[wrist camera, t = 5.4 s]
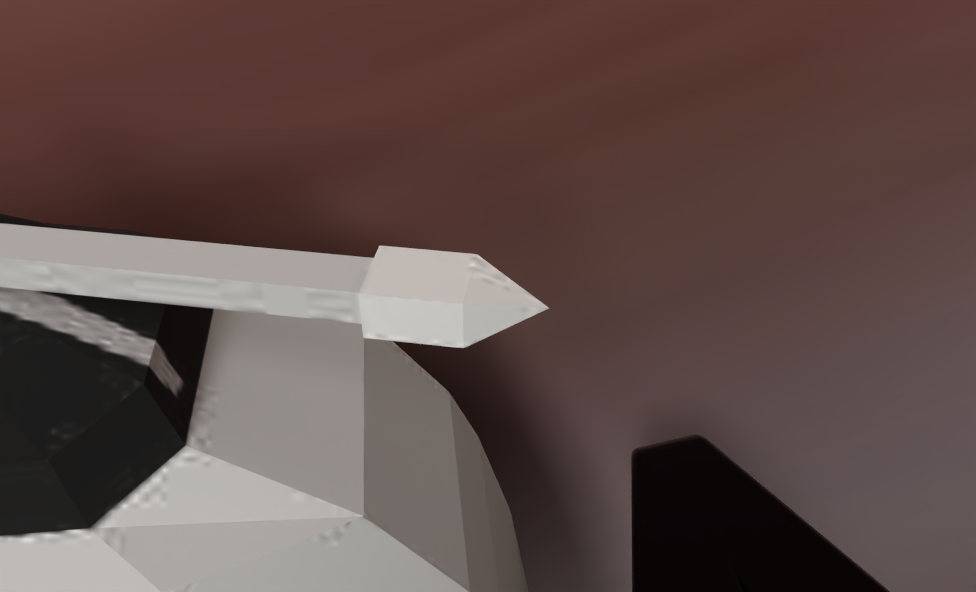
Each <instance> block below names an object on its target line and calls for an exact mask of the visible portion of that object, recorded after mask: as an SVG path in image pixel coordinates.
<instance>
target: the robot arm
mask: <svg viewBox="0 0 976 592" xmlns="http://www.w3.org/2000/svg"><path fill="white" fill-rule="evenodd" d="M631 476H632V592H890V591H889V590H887V589H886V588H885V587H884V586H882V585H881V584H880V583H879V582H878V581H876V580H875V579H874V578H873V577H872V576H870V575H869V574H868V573H867V572H866V571H864V570H863V569H862V568H861V567H860V566H858V565H857V564H856V563H855V562H854V561H852V560H851V559H850V558H849V557H848V556H846V555H845V554H844V553H843V552H842V551H840V550H839V549H838V548H837V547H836V546H834V545H833V544H832V543H831V542H830V541H828V540H827V539H826V538H825V537H824V536H822V535H821V534H820V533H819V532H818V531H816V530H815V529H814V528H813V527H811V526H810V525H809V524H808V523H807V522H805V521H804V520H803V519H802V518H801V517H799V516H798V515H797V514H796V513H795V512H793V511H792V510H791V509H790V508H789V507H787V506H786V505H785V504H784V503H783V502H781V501H780V500H779V499H778V498H777V497H775V496H774V495H773V494H772V493H771V492H769V491H768V490H767V489H766V488H765V487H763V486H762V485H761V484H760V483H759V482H757V481H756V480H755V479H754V478H753V477H751V476H750V475H749V474H748V473H747V472H745V471H744V470H743V469H742V468H740V467H739V466H738V465H737V464H736V463H734V462H733V461H732V460H731V459H730V458H728V457H727V456H726V455H725V454H724V453H722V452H721V451H720V450H719V449H718V448H716V447H715V446H714V445H713V444H712V443H710V442H709V441H708V440H707V439H705V438H704V437H702V436H699V435H691V436H686V437H682V438H678V439H674V440H669V441H665V442H661V443H657V444H653V445H648V446H644V447H640V448H636V449H635V450H634V451H633V452H632V456H631Z"/></svg>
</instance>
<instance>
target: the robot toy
mask: <svg viewBox="0 0 976 592" xmlns="http://www.w3.org/2000/svg"><path fill="white" fill-rule="evenodd" d="M546 309H549V308H548V307H547V306H546V305H544V304H543V303H542V302H540V301H539V300H538V299H536V298H535V297H534V296H532V295H531V294H530V293H528V292H527V291H526V290H524V289H523V288H521V287H520V286H519V285H517V284H516V283H515V282H513V281H512V280H511V279H509V278H508V277H507V276H505V275H504V274H503V273H501V272H500V271H499V270H497V269H496V268H495V267H493V266H492V265H491V264H489V263H488V262H487V261H485V260H484V259H483V258H481V257H480V256H479V255H477V254H468V253H457V252H446V251H435V250H424V249H413V248H402V247H391V246H380V245H379V248H378V250H377V252H376V254H375V257H374V258H368V257H358V256H347V255H336V254H325V253H314V252H304V251H293V250H282V249H271V248H261V247H250V246H239V245H228V244H218V243H207V242H196V241H185V240H174V239H164V238H159V237H154V236H150V235H146V234H142V233H138V232H134V231H127V230H116V229H104V228H93V227H82V226H70V225H59V224H48V223H41V222H36V221H31V220H26V219H22V218H17V217H12V216H7V215H2V214H0V592H528V587H527V583H526V578H525V574H524V569H523V565H522V560H521V556H520V551H519V547H518V542H517V538H516V533H515V529H514V524H513V520H512V515H511V511H510V509H509V506H508V504H507V502H506V500H505V497H504V495H503V493H502V490H501V488H500V486H499V483H498V481H497V479H496V477H495V474H494V472H493V470H492V467H491V465H490V463H489V461H488V458H487V456H486V454H485V451H484V449H483V447H482V444H481V442H480V440H479V438H478V436H477V434H476V433H475V431H474V429H473V428H472V426H471V425H470V423H469V422H468V420H467V419H466V417H465V416H464V414H463V413H462V411H461V410H460V408H459V407H458V405H457V403H456V402H455V400H454V399H453V397H452V396H451V394H450V393H449V392H448V391H447V390H446V389H445V388H444V387H443V386H442V385H441V384H440V383H438V382H437V381H436V380H435V379H434V378H433V377H432V376H431V375H430V374H428V373H427V372H426V371H425V370H424V369H423V368H422V367H421V366H420V365H418V364H417V363H416V362H415V361H414V360H413V359H412V358H411V357H410V356H408V355H407V354H406V353H405V352H404V351H403V350H402V349H401V348H400V347H398V346H397V345H396V344H395V343H394V342H393V341H399V342H409V343H418V344H428V345H437V346H447V347H457V348H465V347H467V346H470V345H472V344H474V343H476V342H478V341H480V340H482V339H484V338H487V337H489V336H491V335H493V334H495V333H497V332H499V331H502V330H504V329H506V328H508V327H510V326H512V325H514V324H517V323H519V322H521V321H523V320H525V319H527V318H529V317H531V316H534V315H536V314H538V313H540V312H542V311H544V310H546Z"/></svg>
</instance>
